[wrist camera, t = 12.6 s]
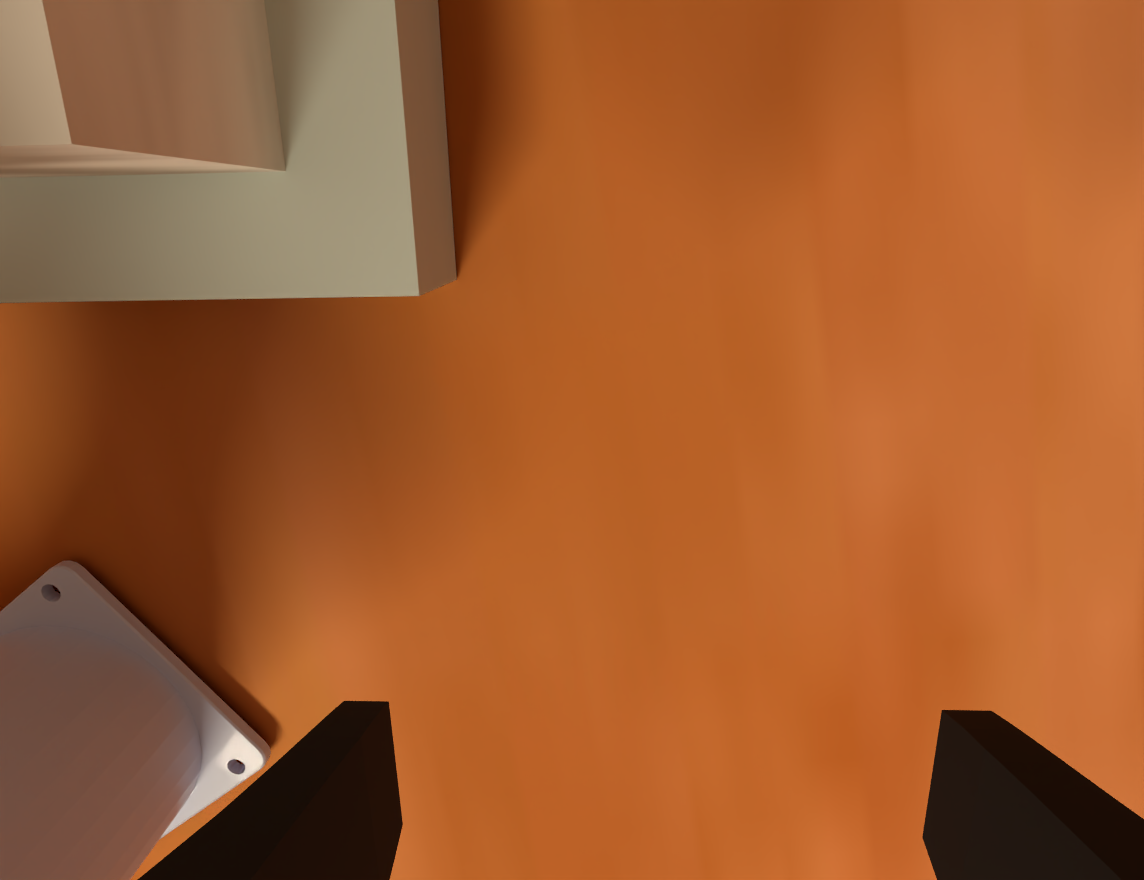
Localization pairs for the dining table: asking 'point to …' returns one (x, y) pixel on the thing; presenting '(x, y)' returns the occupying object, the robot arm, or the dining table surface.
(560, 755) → the dining table surface
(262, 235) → the sage pedestal
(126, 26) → the cream cube
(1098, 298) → the dining table surface
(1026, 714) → the dining table surface
